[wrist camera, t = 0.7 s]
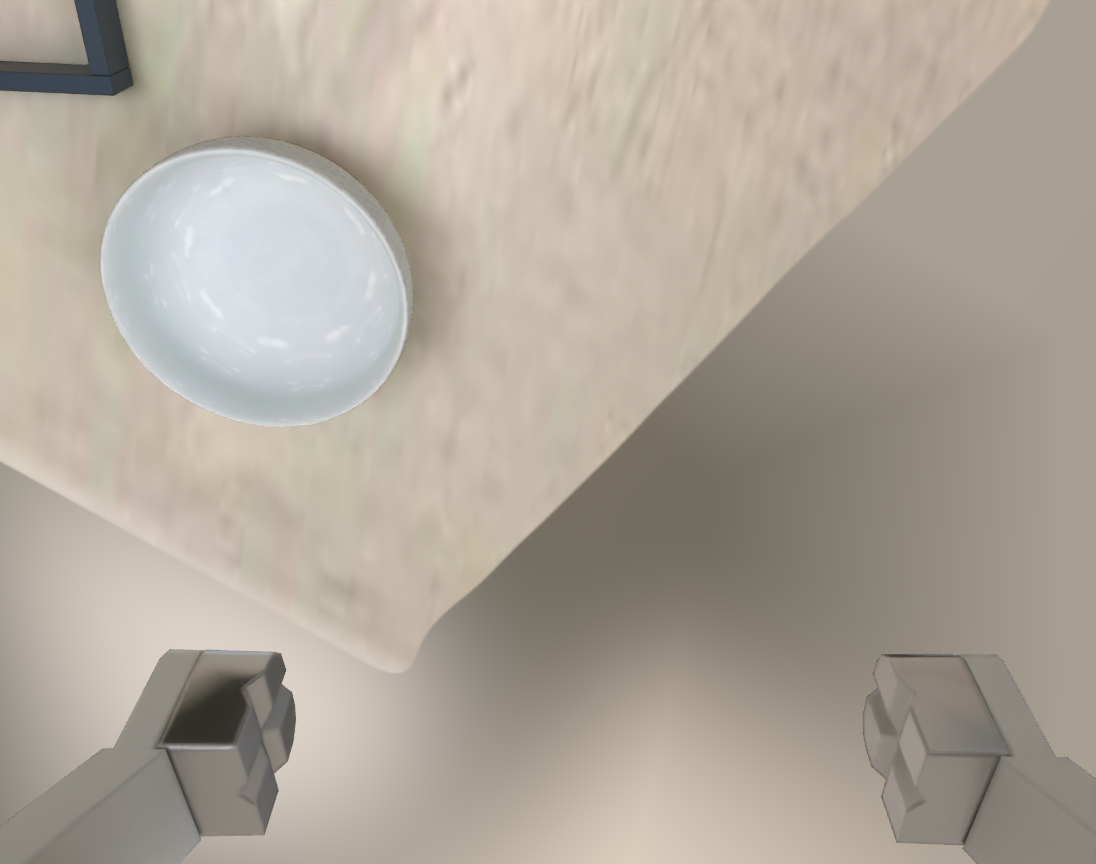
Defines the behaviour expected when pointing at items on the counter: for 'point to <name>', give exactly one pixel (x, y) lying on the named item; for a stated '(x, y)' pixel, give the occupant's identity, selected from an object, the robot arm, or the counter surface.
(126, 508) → the counter surface
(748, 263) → the counter surface
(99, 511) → the counter surface
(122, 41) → the tray
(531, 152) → the counter surface
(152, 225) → the cereal bowl
